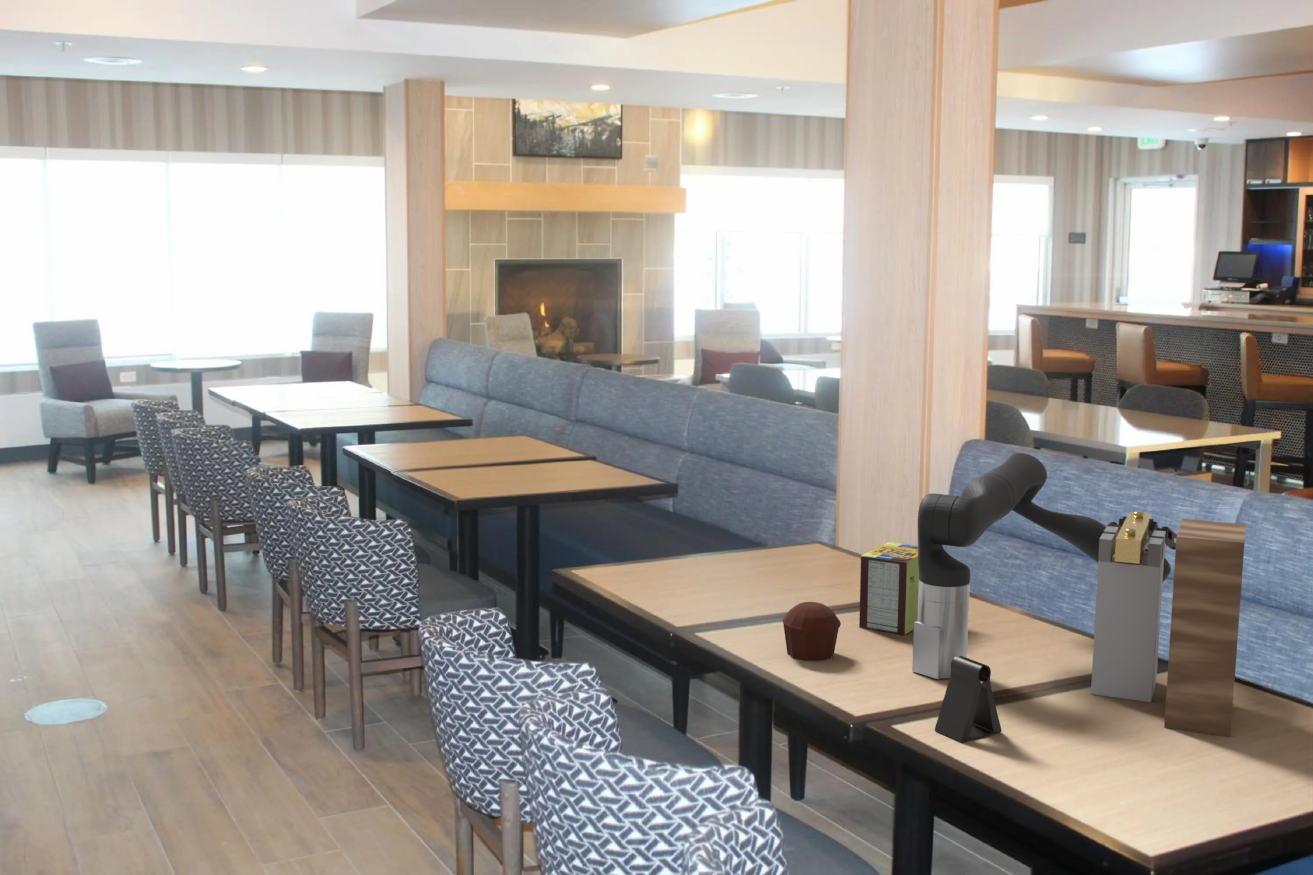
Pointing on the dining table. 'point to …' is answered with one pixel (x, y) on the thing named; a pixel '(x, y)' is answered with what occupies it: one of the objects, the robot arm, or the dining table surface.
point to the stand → (1204, 626)
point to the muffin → (811, 631)
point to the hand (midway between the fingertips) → (1137, 522)
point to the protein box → (889, 588)
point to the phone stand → (968, 703)
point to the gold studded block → (1132, 538)
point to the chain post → (1127, 620)
